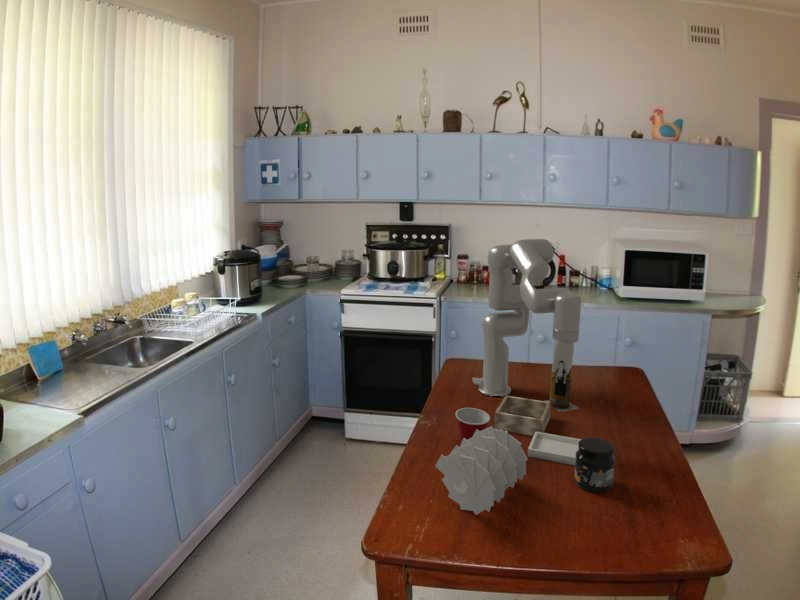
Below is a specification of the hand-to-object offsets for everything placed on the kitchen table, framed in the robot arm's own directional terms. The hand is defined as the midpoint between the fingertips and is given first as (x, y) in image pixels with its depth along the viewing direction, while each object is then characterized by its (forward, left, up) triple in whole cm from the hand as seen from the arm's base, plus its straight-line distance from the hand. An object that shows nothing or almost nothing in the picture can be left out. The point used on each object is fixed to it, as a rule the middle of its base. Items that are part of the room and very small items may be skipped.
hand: (561, 390), depth 179 cm
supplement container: (+12, -16, -20) cm, 28 cm away
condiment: (0, -1, -5) cm, 5 cm away
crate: (-14, +15, -20) cm, 29 cm away
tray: (+1, -1, -20) cm, 20 cm away
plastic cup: (-25, -10, -20) cm, 34 cm away
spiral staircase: (-15, -34, -20) cm, 42 cm away
